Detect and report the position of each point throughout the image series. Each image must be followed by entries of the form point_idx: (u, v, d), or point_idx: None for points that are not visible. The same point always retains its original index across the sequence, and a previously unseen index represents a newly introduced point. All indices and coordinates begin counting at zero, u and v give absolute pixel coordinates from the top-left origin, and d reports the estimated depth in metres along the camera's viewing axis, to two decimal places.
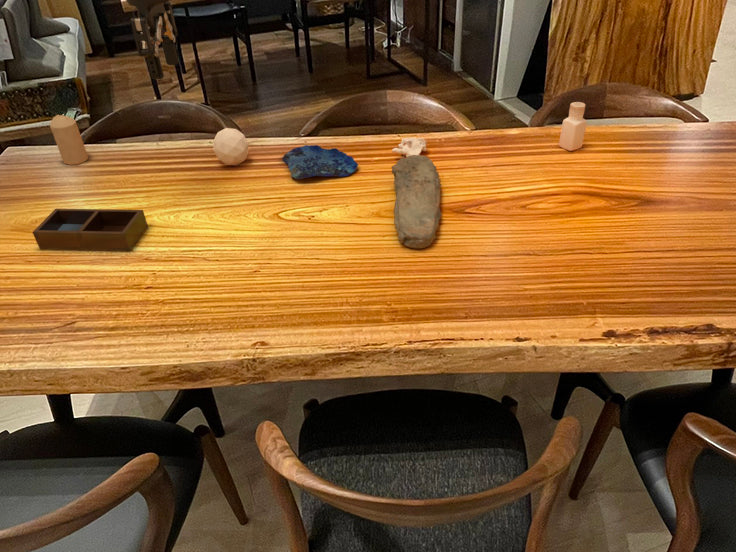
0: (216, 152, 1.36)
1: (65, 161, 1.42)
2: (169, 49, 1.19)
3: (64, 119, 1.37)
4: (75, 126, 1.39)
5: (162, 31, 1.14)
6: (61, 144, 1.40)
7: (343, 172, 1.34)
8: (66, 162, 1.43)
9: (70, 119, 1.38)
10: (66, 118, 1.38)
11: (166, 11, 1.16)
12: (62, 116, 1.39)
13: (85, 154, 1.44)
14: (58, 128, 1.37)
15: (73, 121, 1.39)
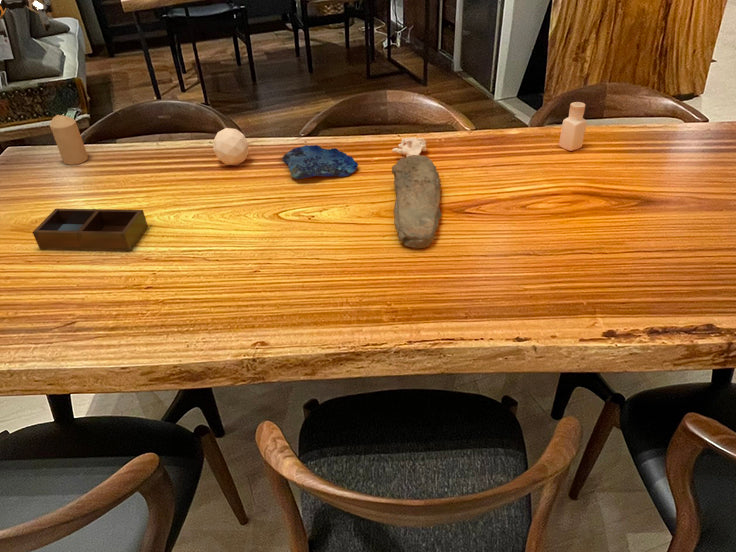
0: (216, 152, 1.36)
1: (65, 161, 1.42)
2: None
3: (64, 119, 1.37)
4: (75, 126, 1.39)
5: None
6: (61, 144, 1.40)
7: (343, 172, 1.34)
8: (66, 162, 1.43)
9: (70, 119, 1.38)
10: (66, 118, 1.38)
11: None
12: (62, 116, 1.39)
13: (85, 154, 1.44)
14: (58, 128, 1.37)
15: (73, 121, 1.39)
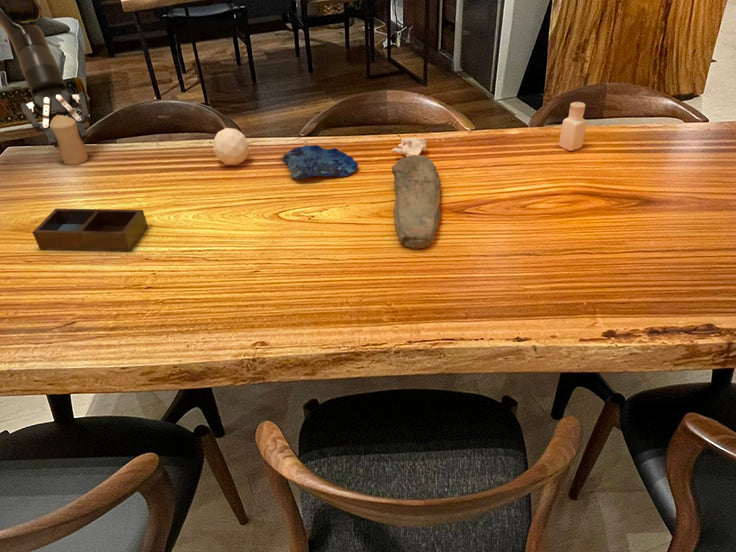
0: (216, 152, 1.36)
1: (65, 161, 1.42)
2: None
3: (64, 119, 1.37)
4: (75, 126, 1.39)
5: (57, 114, 1.41)
6: (61, 144, 1.40)
7: (343, 172, 1.34)
8: (66, 162, 1.43)
9: (70, 119, 1.38)
10: (66, 118, 1.38)
11: None
12: (62, 116, 1.39)
13: (85, 154, 1.44)
14: (58, 128, 1.37)
15: (73, 121, 1.39)
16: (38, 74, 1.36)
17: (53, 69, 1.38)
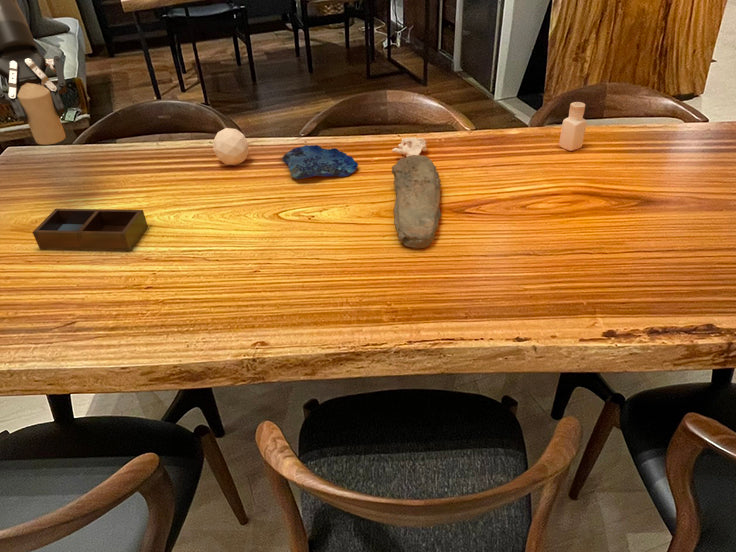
0: (216, 152, 1.36)
1: (37, 140, 1.17)
2: None
3: (35, 88, 1.12)
4: (49, 97, 1.14)
5: None
6: (32, 119, 1.14)
7: (343, 172, 1.34)
8: (38, 141, 1.17)
9: (42, 88, 1.13)
10: (37, 87, 1.12)
11: None
12: (33, 85, 1.14)
13: (62, 132, 1.18)
14: (28, 99, 1.12)
15: (46, 91, 1.13)
16: (2, 32, 1.11)
17: (21, 27, 1.13)
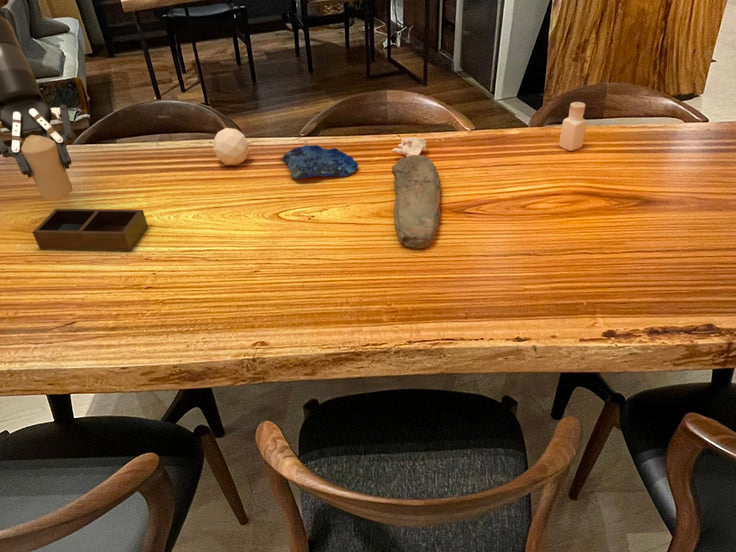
0: (216, 152, 1.36)
1: (42, 194, 1.10)
2: None
3: (40, 141, 1.04)
4: (55, 150, 1.06)
5: None
6: (37, 174, 1.07)
7: (343, 172, 1.34)
8: (44, 196, 1.10)
9: (48, 141, 1.05)
10: (42, 140, 1.05)
11: None
12: (37, 137, 1.06)
13: (69, 185, 1.11)
14: (32, 153, 1.04)
15: (52, 143, 1.06)
16: (5, 82, 1.03)
17: (25, 75, 1.05)
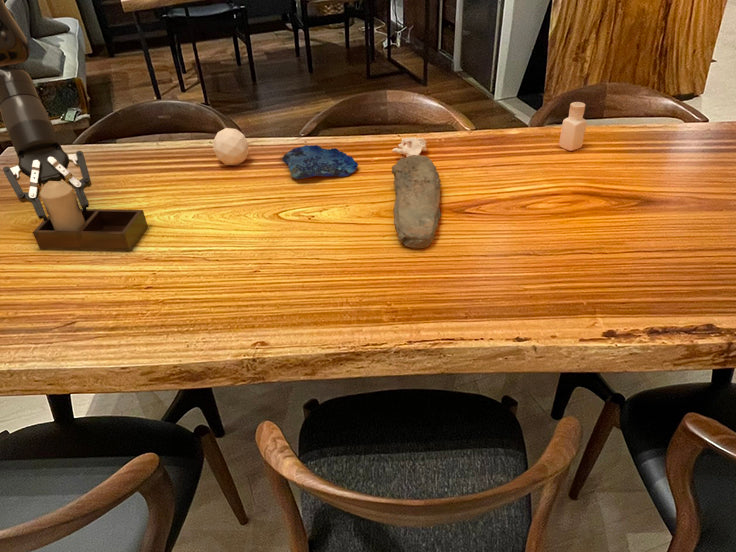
0: (216, 152, 1.36)
1: None
2: (41, 205, 1.12)
3: (58, 187, 1.10)
4: (72, 195, 1.12)
5: None
6: (55, 217, 1.12)
7: (343, 172, 1.34)
8: None
9: (65, 186, 1.11)
10: (60, 186, 1.10)
11: None
12: (55, 182, 1.12)
13: None
14: (51, 198, 1.09)
15: (69, 189, 1.11)
16: (25, 132, 1.09)
17: (44, 125, 1.11)
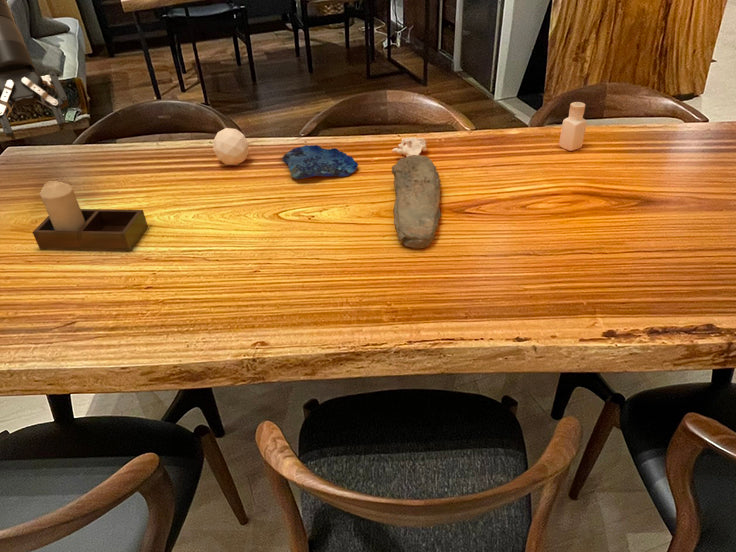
0: (216, 152, 1.36)
1: None
2: (9, 123, 1.14)
3: (58, 187, 1.10)
4: (72, 195, 1.12)
5: None
6: (55, 217, 1.12)
7: (343, 172, 1.34)
8: None
9: (65, 186, 1.11)
10: (60, 186, 1.10)
11: None
12: (55, 182, 1.12)
13: None
14: (51, 198, 1.09)
15: (69, 189, 1.11)
16: None
17: (18, 46, 1.13)
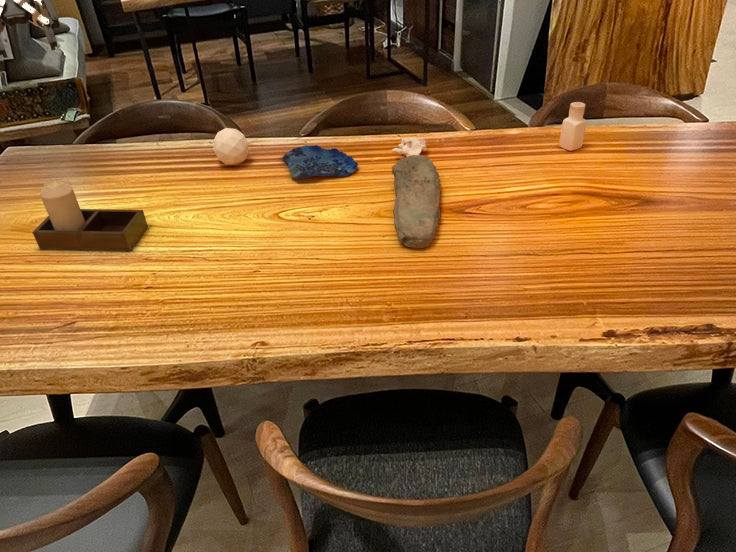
0: (216, 152, 1.36)
1: None
2: None
3: (58, 187, 1.10)
4: (72, 195, 1.12)
5: None
6: (55, 217, 1.12)
7: (343, 172, 1.34)
8: None
9: (65, 186, 1.11)
10: (60, 186, 1.10)
11: None
12: (55, 182, 1.12)
13: None
14: (51, 198, 1.09)
15: (69, 189, 1.11)
16: None
17: None
